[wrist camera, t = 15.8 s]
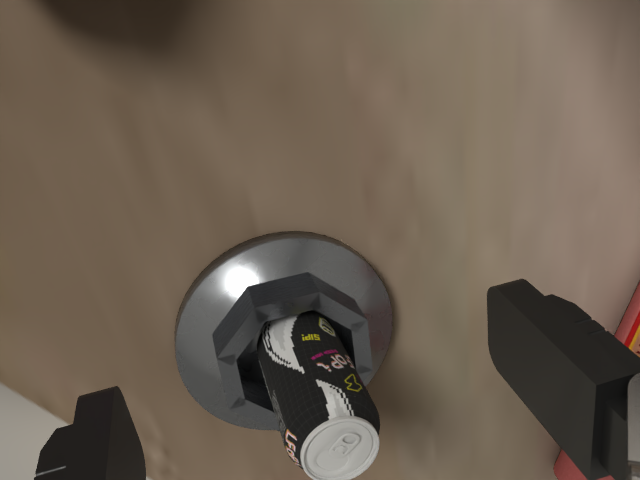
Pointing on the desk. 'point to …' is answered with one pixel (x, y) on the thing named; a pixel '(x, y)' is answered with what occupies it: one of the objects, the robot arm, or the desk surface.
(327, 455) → the beverage can
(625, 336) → the blood vessel
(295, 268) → the rosette socket
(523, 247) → the desk surface
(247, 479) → the desk surface
